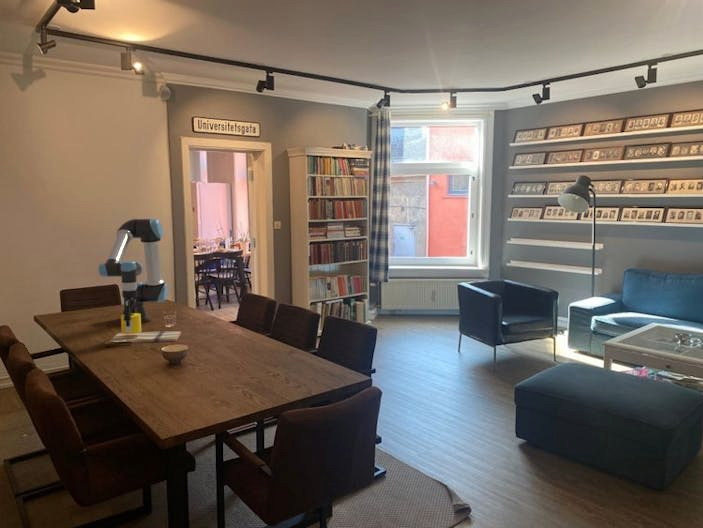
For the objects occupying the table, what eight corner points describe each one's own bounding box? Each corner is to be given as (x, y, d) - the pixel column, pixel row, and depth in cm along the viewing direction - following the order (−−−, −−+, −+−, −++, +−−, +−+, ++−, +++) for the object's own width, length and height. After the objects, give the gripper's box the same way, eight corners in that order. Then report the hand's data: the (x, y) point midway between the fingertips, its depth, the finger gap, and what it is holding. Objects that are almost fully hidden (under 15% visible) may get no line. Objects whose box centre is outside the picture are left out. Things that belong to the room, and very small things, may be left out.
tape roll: (134, 334, 282) (133, 317, 281) (117, 333, 284) (116, 316, 283) (145, 330, 292) (144, 313, 291) (129, 329, 294) (128, 312, 293)
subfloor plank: (118, 335, 295) (118, 332, 295) (180, 333, 300) (180, 330, 300) (109, 343, 279) (109, 340, 279) (175, 341, 284) (175, 338, 284)
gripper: (128, 286, 295) (130, 324, 298) (116, 293, 273) (118, 335, 276) (142, 286, 297) (143, 324, 299) (131, 293, 274) (133, 334, 277)
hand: (131, 329), depth 288 cm, fingers closed on tape roll, 10 cm apart
